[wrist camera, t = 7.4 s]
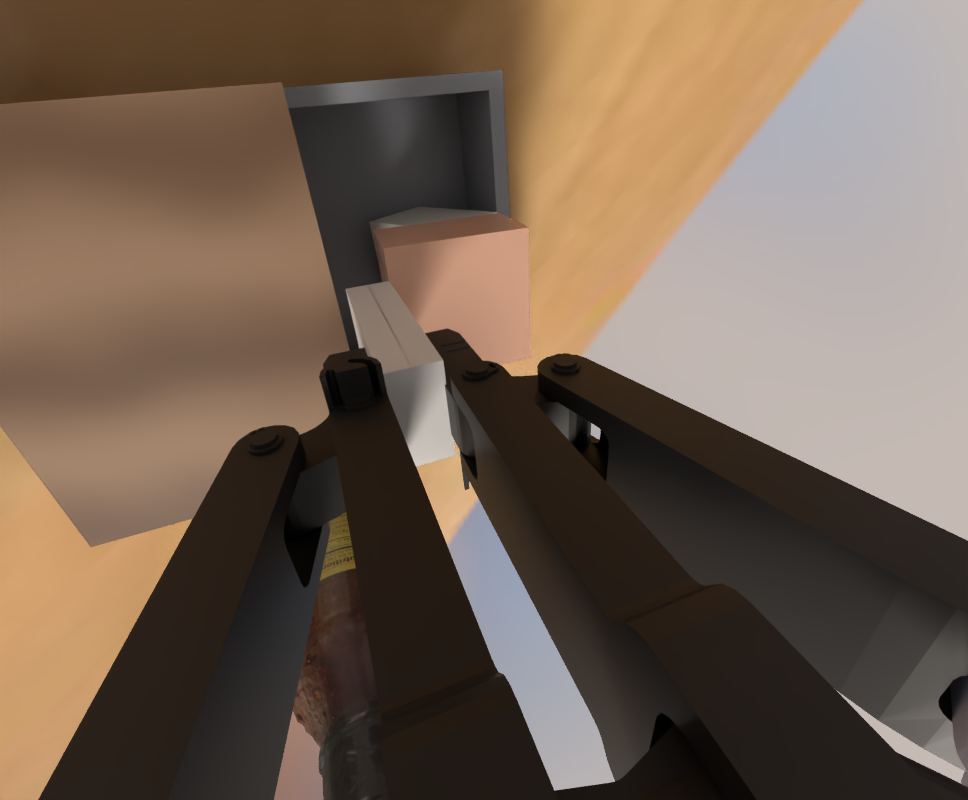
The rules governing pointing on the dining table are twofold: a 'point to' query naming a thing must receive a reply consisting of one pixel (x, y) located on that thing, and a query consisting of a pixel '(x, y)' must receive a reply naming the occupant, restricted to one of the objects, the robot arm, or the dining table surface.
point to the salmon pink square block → (464, 280)
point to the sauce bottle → (341, 681)
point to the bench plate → (156, 295)
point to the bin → (396, 159)
